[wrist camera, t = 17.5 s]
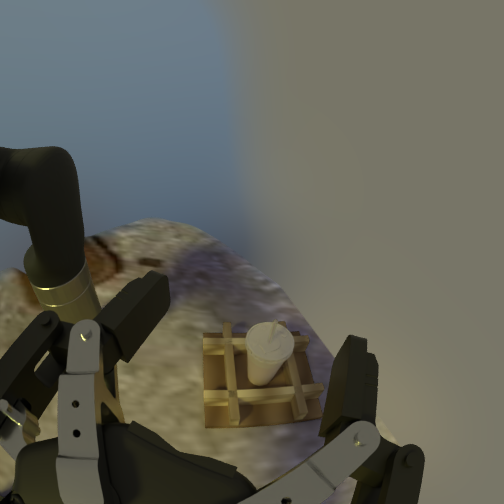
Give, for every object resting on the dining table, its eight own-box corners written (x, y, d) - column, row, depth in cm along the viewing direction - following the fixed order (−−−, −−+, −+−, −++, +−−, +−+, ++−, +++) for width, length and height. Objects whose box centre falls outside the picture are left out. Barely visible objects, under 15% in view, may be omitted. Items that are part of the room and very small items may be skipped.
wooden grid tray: (205, 428, 32) (204, 419, 29) (203, 336, 45) (203, 321, 43) (320, 418, 34) (330, 408, 32) (297, 334, 48) (303, 320, 46)
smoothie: (232, 384, 37) (241, 327, 29) (247, 353, 42) (260, 292, 34) (272, 399, 36) (296, 346, 28) (285, 367, 41) (308, 308, 33)
